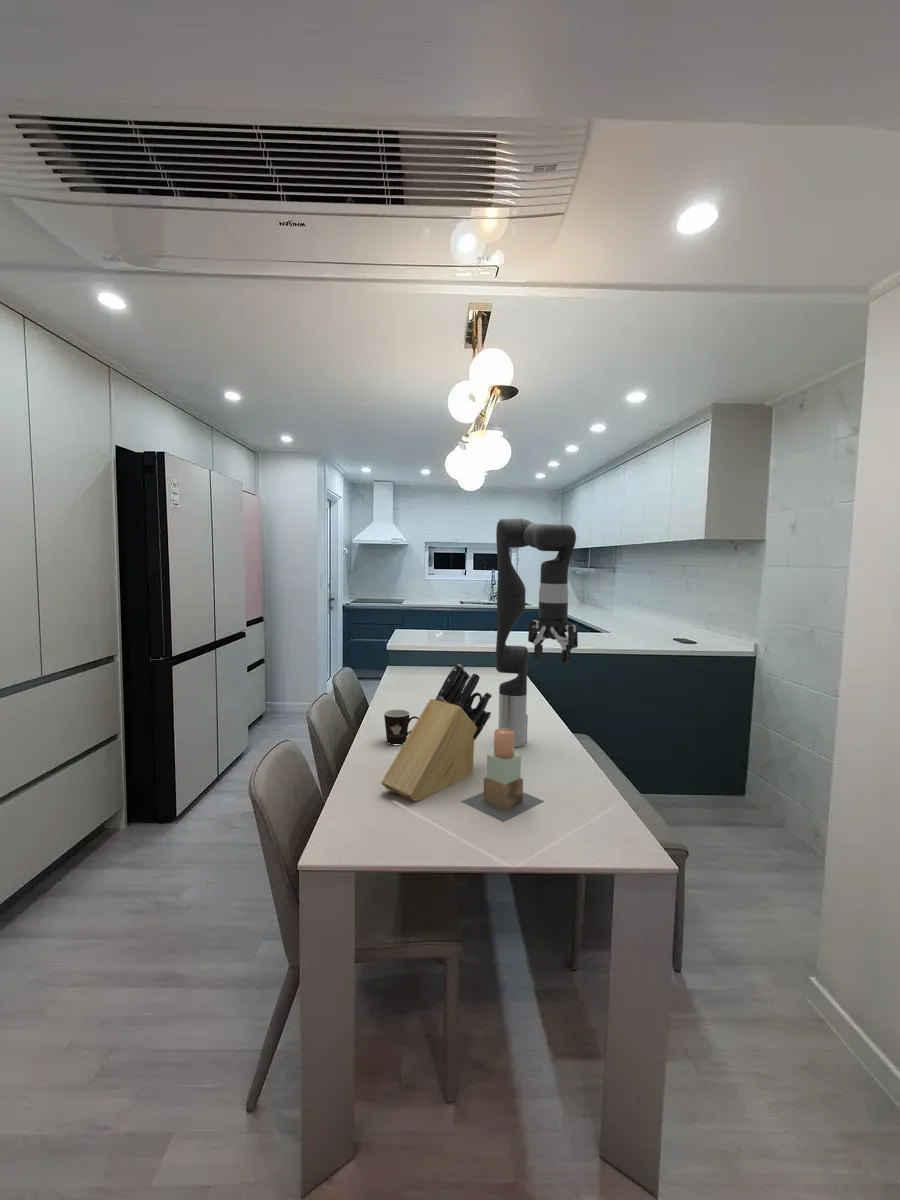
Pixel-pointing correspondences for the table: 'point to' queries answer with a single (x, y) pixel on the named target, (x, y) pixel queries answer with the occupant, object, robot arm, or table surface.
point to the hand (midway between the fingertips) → (551, 661)
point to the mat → (499, 813)
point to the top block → (503, 768)
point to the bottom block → (503, 793)
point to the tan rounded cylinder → (504, 743)
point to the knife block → (440, 740)
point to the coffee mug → (397, 725)
